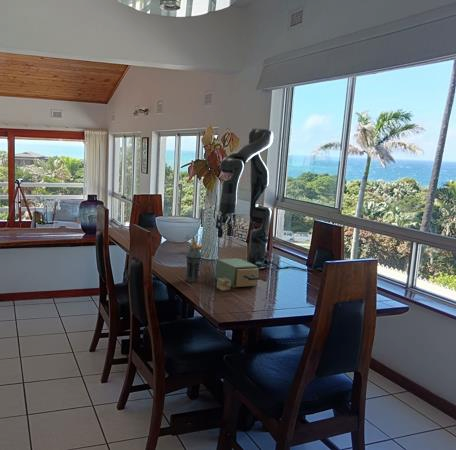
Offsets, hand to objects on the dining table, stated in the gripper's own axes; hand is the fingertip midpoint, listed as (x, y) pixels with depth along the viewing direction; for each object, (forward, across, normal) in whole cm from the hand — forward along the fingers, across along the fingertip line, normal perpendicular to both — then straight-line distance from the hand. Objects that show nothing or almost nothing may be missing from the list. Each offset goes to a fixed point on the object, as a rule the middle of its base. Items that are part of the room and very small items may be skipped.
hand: (224, 236), depth 213 cm
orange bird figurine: (+22, +42, +40) cm, 62 cm away
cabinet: (+22, +5, -5) cm, 23 cm away
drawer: (+21, +2, -10) cm, 23 cm away
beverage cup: (+22, -11, +9) cm, 26 cm away
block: (+22, -10, -7) cm, 25 cm away
